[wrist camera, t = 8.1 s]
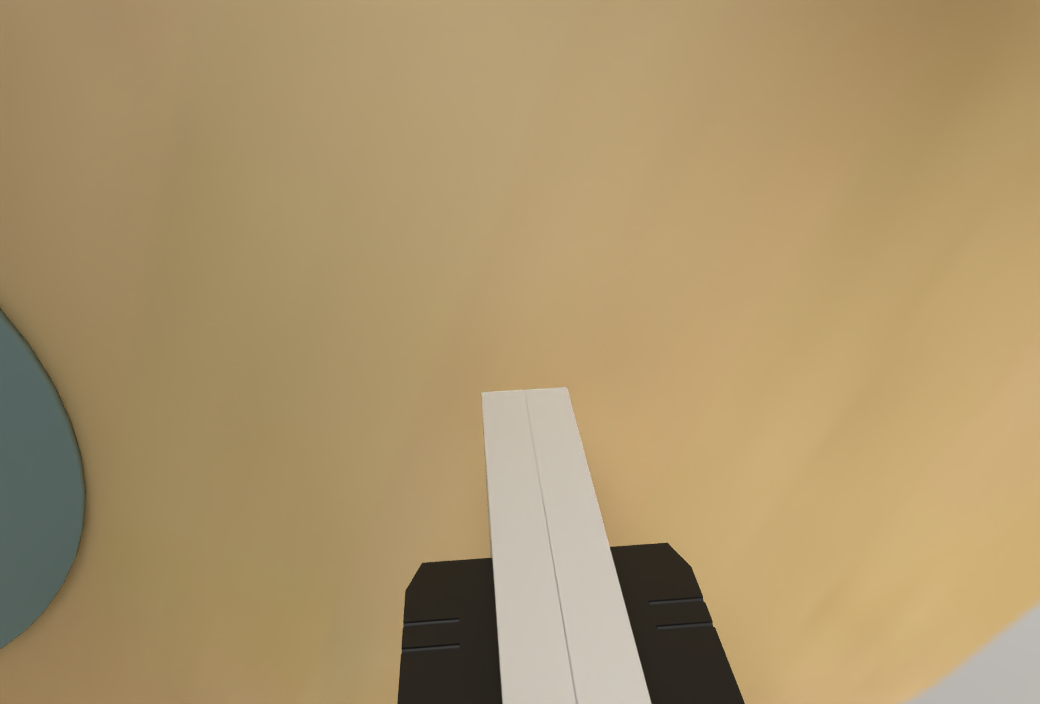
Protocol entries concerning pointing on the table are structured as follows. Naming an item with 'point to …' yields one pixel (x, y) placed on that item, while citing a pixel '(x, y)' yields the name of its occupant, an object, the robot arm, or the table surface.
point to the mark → (34, 487)
